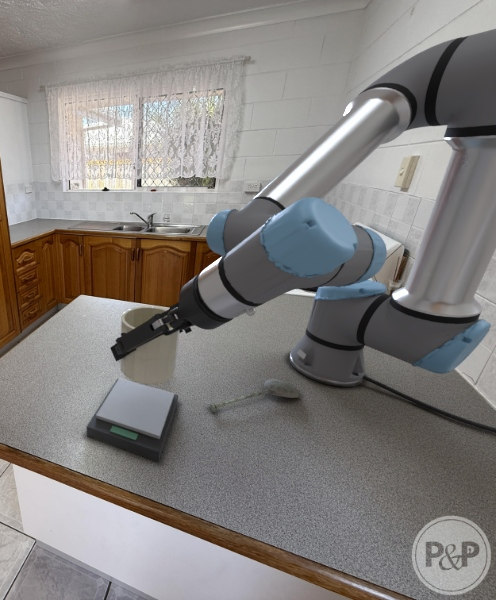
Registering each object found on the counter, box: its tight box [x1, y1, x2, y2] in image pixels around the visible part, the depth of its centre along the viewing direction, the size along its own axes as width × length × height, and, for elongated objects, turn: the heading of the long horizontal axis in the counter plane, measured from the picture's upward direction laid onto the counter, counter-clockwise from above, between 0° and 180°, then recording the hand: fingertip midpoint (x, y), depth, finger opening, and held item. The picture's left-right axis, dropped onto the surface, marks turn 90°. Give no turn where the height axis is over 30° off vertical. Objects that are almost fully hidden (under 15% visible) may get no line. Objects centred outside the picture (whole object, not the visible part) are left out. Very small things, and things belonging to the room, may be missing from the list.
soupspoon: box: [209, 378, 300, 413], centre depth 68 cm, size 22×3×7 cm
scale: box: [86, 377, 179, 463], centre depth 63 cm, size 14×16×3 cm
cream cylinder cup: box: [119, 306, 180, 386], centre depth 57 cm, size 10×10×11 cm
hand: (137, 345), depth 60 cm, fingers closed on cream cylinder cup, 10 cm apart
